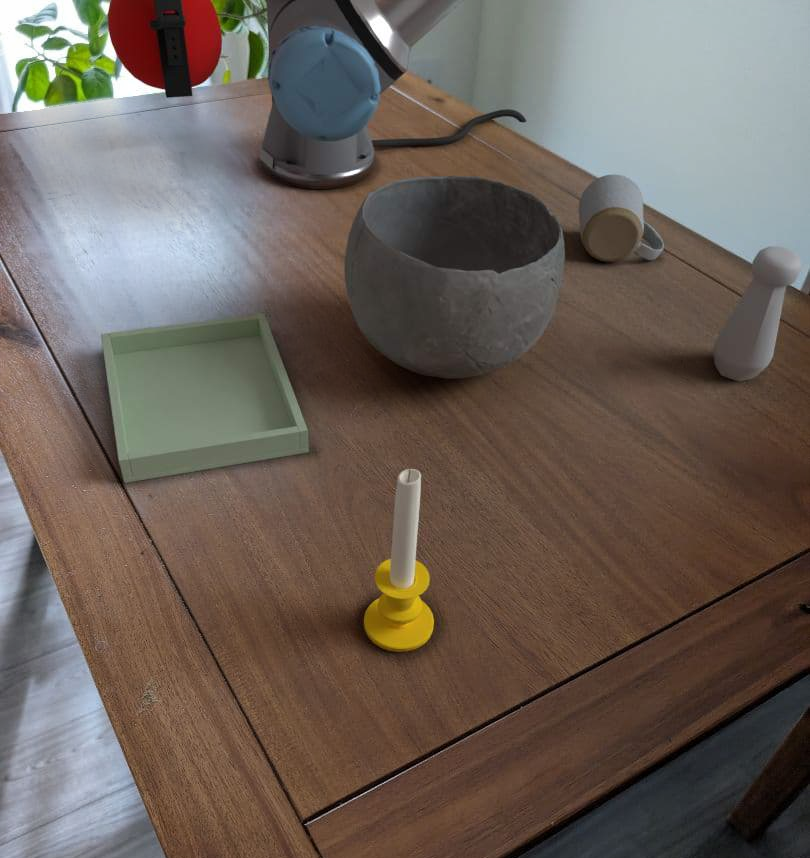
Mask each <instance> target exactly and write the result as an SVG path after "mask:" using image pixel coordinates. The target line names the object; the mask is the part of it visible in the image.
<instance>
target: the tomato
mask: <svg viewBox="0 0 810 858" xmlns="http://www.w3.org/2000/svg"><path fill="white" fill-rule="evenodd" d="M181 2H182V8H183V14H184V17H185V19H186V23H185V24H186V25H185V27H184V33H185V41H186V48H187V56H188V64H189V72H190V80H191V87H192V88H195V87H197V86H200V85H202V84H204V83H205V82H206V81H207V80H208V79H210V77H211V76H212V75H213V74H214V72H215V70H216V68H217V67H218V65H219V62H220V58H221V55H222V49H223V48H222V47H223V36H222V29H221V24H220V20H219V15H218V13H217V10H216V8H215V6H214V3H213V1H212V0H181ZM163 13H175V12H174V11H164V12H163ZM150 20H156V15H155V10H154V4H153V0H110V1H109V6H108V11H107V28H108V29H107V31H108V34H109V39H110V42H111V44H112V45H111V46H112V47H113V49H114V52H115V54H116V57H117V58H118V60H119V61H120V62H121V64H122V65H123V67H124V68H125V69H126V71H127V72H128V73H129V74H130V75H131V76H132V77H133V78H135V79H136V80H137V81H139V82H141V83H143V84H144V85H145V86H148V87H152V88H154V89H159V90H164V91H165V87H164V80H163V74H162V67H161V60H160V54H159V47H158V40H157V34H156V30H151V29H150Z"/></svg>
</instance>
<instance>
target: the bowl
mask: <svg viewBox="0 0 810 858" xmlns="http://www.w3.org/2000/svg"><path fill="white" fill-rule="evenodd" d="M565 260H566V247H565V239H564V233H563V229H562V226H561V225H560V222H559V220H558V218H557V217H556V215H555V214H553V212H552V210H551V209H549V207H548V206H547V204H545V203H544V202H543V201H542V200H540V199H539V198H537V197H536V196H535V195H533V194H532V193H531V192H528V191H526V190H524V189H522V188H519V187H516V186H514V185H511V184H508V183H506V182H502V181H500V180H495V179H492V178H486V177H481V176H470V175H469V176H468V175H467V176H464V175H463V176H462V175H446V176H445V175H444V176H440V175H439V176H438V175H437V176H417V177H416V176H415V177H408V178H407V177H406V178H403V179H399V180H394V181H390V182H388V183H386V184H384V185H382V186H379V187H377V188H376V189H374V190H372V191H370V193H368V195H367V196H366V197H365V198H364V200H363V202H362V203H361V205H360V207H359V208H358V210H357V211H356V215H355V216H354V219H353V222H352V224H351V227H350V230H349V233H348V237H347V243H346V247H345V254H344V283H345V289H346V290H345V291H346V296H347V299H348V302H349V306H350V309H351V312H352V315H353V318H354V321H355V322H356V324H357V326H358V329H359V331H360V332H361V334H362V335H363V336H364V338H365V339H366V340H367V341H368V342H369V343H370V344H371V346H373V347H374V349H376V350H377V351H378V352H379V353H380V354H382V355H383V356H384V357H385V358H387V359H389V360H390V361H391V362H393V363H394V364H396V365H398V366H400V367H402V368H404V369H406V370H408V371H411V372H413V373H415V374H418V375H421V376H426V377H434V378H441V379H446V380H448V379H452V380H453V379H454V380H455V379H467V378H474V377H480V376H484V375H486V374H490V373H493V372H496V371H498V370H500V369H502V368H505V367H507V366H509V365H511V364H512V363H514V362H515V361H517V360H519V359H521V358H522V357H523V356H524V355H525V354H526V353H527V352H529V350H531V349H532V347H534V346H535V344H536V343H537V342H538V341H539V339H540V338H541V336H542V335H543V334H544V332H545V330H546V328H547V327H548V325H549V322H550V321H551V319H552V317H553V315H554V312H555V310H556V309H555V308H556V306H557V303H558V299H559V295H560V292H561V291H562V290H561V289H562V285H563V278H564V273H565Z"/></svg>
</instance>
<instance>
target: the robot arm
mask: <svg viewBox="0 0 810 858" xmlns="http://www.w3.org/2000/svg"><path fill="white" fill-rule="evenodd" d="M464 1H465V0H265V3H266V21H267V39H268V66H267V80H268V81H267V82H268V87H269V90H270V93H271V107H270V111H269V115H268V119H267V124H266V128H265V131H264V136H263V140H262V144H261V146H260V147H259V160H261V166H262V169H263V170H264V172H265V173H266V174H267V175H268V176H269V177H271V178H273V179H274V180H276V181H278V182H281V183H283V184H286V185H290V186H292V187H293V186H294V187H297V188H303V189H312V190H313V189H316V190H326V189H327V190H328V189H338V188H344V187H349V186H352V185H356V184H358V183H360V182H362V181H364V180H366V179H367V178H368V177H370V176H371V174H372V173H373V172H374V170H375V159H376V158H375V157H376V156H375V155H376V153H375V151H376V150H375V148H393V147H396V148H397V147H427V146H428V147H429V146H443V145H448V144H452V143H456V142H458V141H460V140H462V139H463V138H465V137H466V136H467V135H468V134H469V132H470V131H471V129H472V128H473V127H474V126H476V125H479V124H482V123H484V122H488V121H491V120H494V119H499V118H503V117H511V118H514V119H516V120H517V121H518V122H519V123H526V122H527V119H526V118H525V116H524V115H523V114H522V113H521V112H519V111H518V110H515V109H508V108H507V109H498V110H494V111H492V112H489V113H485V114H482V115H479V116H476V117H473V118H472V119H470V120H468V121H467V122H466V123H465V125H464V126H463V128H462V129H461V130H460V131H459V132H457V133H455V134H451V135H447V136H441V137H427V138H424V137H423V138H422V137H421V138H420V137H419V138H391V139H389V138H388V139H372V137H371V134H370V130H369V126H368V125H369V122H371V120H372V118H373V117H374V115H375V113H376V110H377V108H378V106H379V102H380V99H381V95H382V94H383V93H384V92H386V91H387V89H389V88H390V87H391V86H392V85H393V84H394V83H396V82H397V80H399V78H401V77H402V76H404V74H405V73H406V72H407V71H408V70H409V63H410V54H411V51H412V48H413V46H414V45H416V44H417V43H418V42H419V41H420V40H421V39H422V38H424V37H425V36H426V35H427V34H428V33H429V32H430V31H431V30H433V29H434V28H435V27H436V26H438V24H439V23H440V22H441V21H442V20H444V19H445V18H446V17H447V16H448V15H449V14H450V13H451V12H453V11H454V10H455V9H456V8H457V7H459V5H460V4H462V3H463V2H464ZM153 4H154V10H155V15H156V20H150V29H151V30H156V34H157V40H158V47H159V54H160V60H161V67H162V74H163V80H164V87H165V90H164V94H165V97H166V99H171V98H184V97H193V96H194V95H193V89H192V88H193V87H191V80H190V72H189V64H188V56H187V48H186V41H185V33H184V27H185V25H186V24H185V23H186V19H185V17H184V14H183V8H182V2H181V0H153ZM164 11H174V12H175V13H163V12H164Z"/></svg>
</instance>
